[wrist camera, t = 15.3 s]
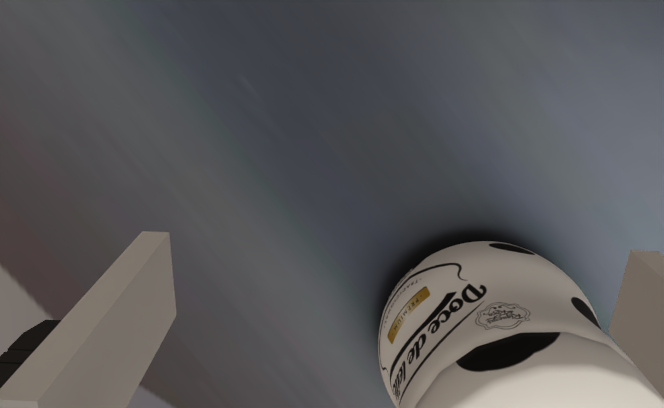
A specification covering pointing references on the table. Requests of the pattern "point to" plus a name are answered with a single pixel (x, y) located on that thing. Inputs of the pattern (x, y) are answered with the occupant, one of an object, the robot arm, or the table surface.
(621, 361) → the milk container
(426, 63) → the table surface
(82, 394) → the robot arm
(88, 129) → the table surface
